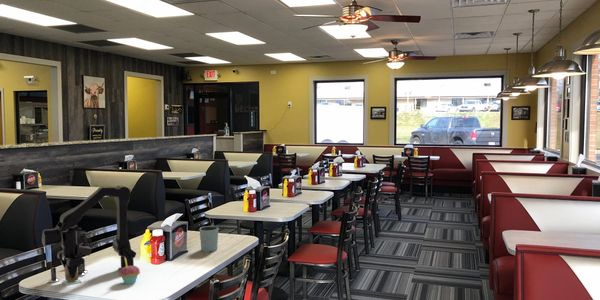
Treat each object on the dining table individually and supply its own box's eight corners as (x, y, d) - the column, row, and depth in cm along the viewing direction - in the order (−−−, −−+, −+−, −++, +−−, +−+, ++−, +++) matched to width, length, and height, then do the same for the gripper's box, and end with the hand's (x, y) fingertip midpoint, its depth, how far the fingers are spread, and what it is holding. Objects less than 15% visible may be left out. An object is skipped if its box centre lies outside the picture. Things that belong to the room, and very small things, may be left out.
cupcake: (128, 287, 198) (126, 259, 197) (115, 283, 202) (113, 256, 201) (144, 280, 205) (143, 254, 204) (131, 277, 210) (130, 251, 209)
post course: (90, 274, 215) (90, 261, 214) (50, 283, 204) (49, 270, 203) (78, 265, 229) (77, 253, 229) (39, 273, 218) (38, 260, 217)
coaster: (81, 282, 205) (81, 281, 205) (66, 285, 201) (66, 284, 201) (77, 278, 209) (77, 277, 209) (62, 282, 205) (62, 281, 205)
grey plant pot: (210, 246, 259) (209, 224, 258) (223, 249, 253) (222, 227, 252) (196, 250, 250) (195, 228, 250) (209, 253, 245) (208, 231, 244)
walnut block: (68, 281, 202) (67, 268, 202) (65, 279, 205) (64, 266, 205) (77, 279, 205) (77, 266, 205) (75, 277, 208) (74, 264, 208)
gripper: (96, 242, 202) (97, 277, 203) (82, 234, 216) (84, 267, 217) (68, 247, 195) (70, 284, 196) (56, 239, 209) (57, 273, 210)
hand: (71, 276), depth 205 cm, fingers closed on walnut block, 4 cm apart
